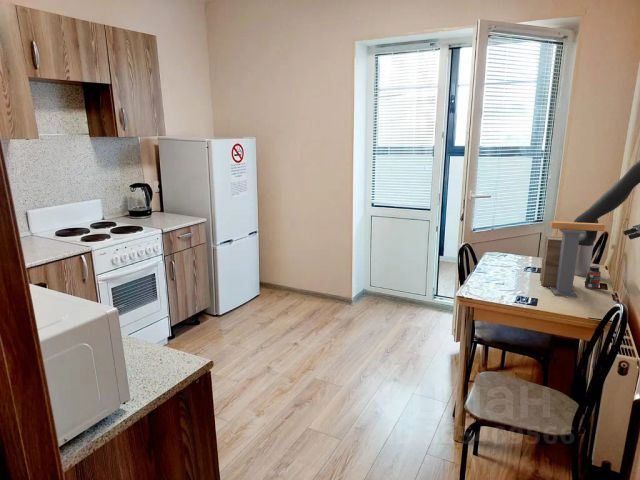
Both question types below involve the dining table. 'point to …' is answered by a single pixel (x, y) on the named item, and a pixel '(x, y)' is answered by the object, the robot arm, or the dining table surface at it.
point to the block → (577, 226)
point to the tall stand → (567, 263)
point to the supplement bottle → (593, 277)
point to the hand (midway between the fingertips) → (626, 235)
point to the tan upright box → (550, 260)
